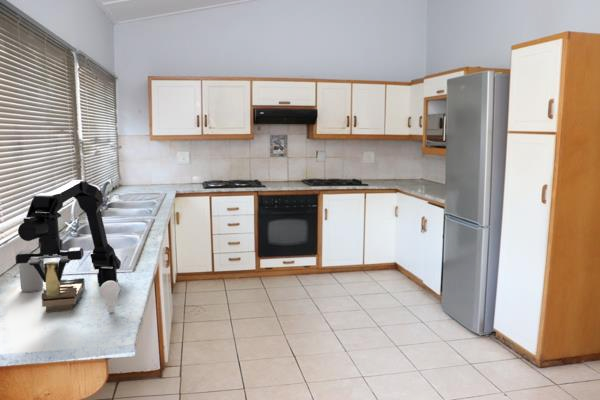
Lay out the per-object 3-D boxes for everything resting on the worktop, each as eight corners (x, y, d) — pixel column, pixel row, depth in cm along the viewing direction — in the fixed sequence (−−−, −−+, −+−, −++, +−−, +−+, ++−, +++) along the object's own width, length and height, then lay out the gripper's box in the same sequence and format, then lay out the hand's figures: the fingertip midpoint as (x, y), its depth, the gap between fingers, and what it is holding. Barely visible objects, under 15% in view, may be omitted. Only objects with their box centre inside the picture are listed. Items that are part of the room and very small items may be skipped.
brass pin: (61, 290, 162) (59, 261, 161) (59, 294, 159) (56, 264, 157) (48, 292, 161) (45, 262, 160) (45, 296, 158) (42, 265, 156)
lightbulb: (98, 312, 166) (96, 280, 164) (116, 307, 170) (114, 276, 168) (106, 317, 162) (104, 285, 160) (124, 312, 166) (122, 281, 164)
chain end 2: (85, 288, 190) (84, 277, 189) (78, 303, 174) (77, 291, 174) (56, 290, 187) (55, 279, 186) (46, 306, 172) (45, 293, 171)
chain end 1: (82, 293, 184) (81, 277, 183) (75, 309, 168) (74, 291, 167) (52, 296, 181) (51, 279, 180) (42, 312, 166) (41, 294, 165)
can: (47, 286, 192) (44, 256, 190) (37, 293, 185) (35, 261, 183) (27, 286, 192) (24, 256, 190) (17, 293, 184) (14, 261, 183)
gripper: (84, 226, 167) (87, 271, 170) (22, 229, 162) (26, 276, 165) (79, 234, 156) (82, 281, 159) (13, 237, 152) (17, 286, 154)
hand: (52, 281), depth 159 cm, fingers closed on brass pin, 4 cm apart
